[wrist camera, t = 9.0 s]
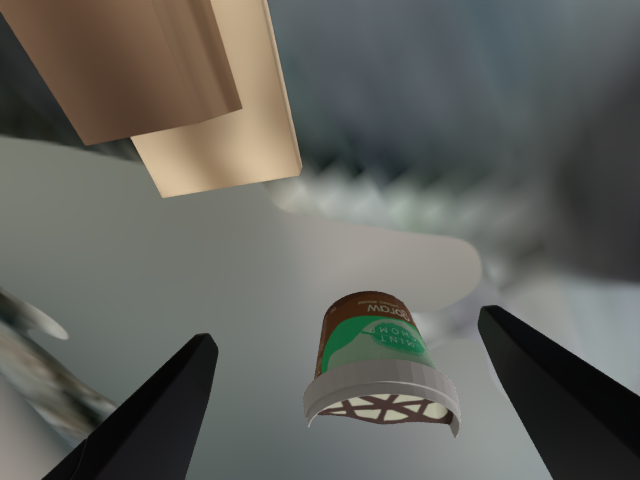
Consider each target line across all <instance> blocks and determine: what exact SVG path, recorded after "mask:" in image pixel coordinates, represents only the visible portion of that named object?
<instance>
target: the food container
mask: <svg viewBox="0 0 640 480" xmlns="http://www.w3.org/2000/svg"><path fill="white" fill-rule="evenodd" d="M303 403H304V413H305V417H307V418H308V427H309V425H310V422H311V421H312V419H313V418H314V417H315V416H316V415H336V416H346V417H351V418H355V419H359V420H363V421H367V422H372V423H377V424H396V423H404V422H429V423H443V424H448V425H449V426H450V428H451V430H452V433H453V435H454V437H455V438H457V436H458V435H459V433H460V429H461V423H460V419H461V414H460V413H461V412H460V407H459V402H458V397H457V392H456V389H455V387H454V384H453V383H452V382H451V381H450V379H449V378H448V377H446V376H445V375H444V374H443V373H441V372H439V371H437V369H436V367H435V365H434V363H433V361H432V359H431V356H430V354H429V352H428V350H427V348H426V346H425V344H424V342H423V340H422V337H421V335H420V333H419V331H418V329H417V327H416V325H415V323H414V321H413V319H412V316H411V314H410V312H409V311H408V309H407V308H406V306H405V305H404V303H403V302H401V301H400V300H398V299H397V298H395V297H394V296H392V295H389V294H386V293H383V292H377V291H364V292H357V293H353V294H350V295H347V296H345V297H343V298H341V299H339V300H338V301H336V302H335V303H334V304H333V305H332V306H330V308H329V309H328V310H327V312H326V314H325V316H324V320H323V326H322V332H321V338H320V345H319V351H318V357H317V365H316V370H315V377H314V380H313V381H312V383H311V384H310V385H309V386H308V387H307V389H306V391H305V392H304V396H303Z"/></svg>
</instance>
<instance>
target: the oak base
mask: <svg viewBox="0 0 640 480" xmlns="http://www.w3.org/2000/svg"><path fill="white" fill-rule="evenodd" d="M210 1H211V4H212V8H213V11H214V14H215V18H216V21H217V24H218V28H219V31H220V34H221V38H222V41H223V44H224V48H225V51H226V54H227V58H228V61H229V64H230V68H231V71H232V74H233V78H234V81H235V84H236V88H237V91H238V94H239V98H240V101H241V104H242V108H243V109H240V110H237V111H234V112H231V113H228V114H225V115H222V116H219V117H216V118H213V119H210V120H207V121H204V122H201V123H197V124H192V125H187V126H182V127H177V128H172V129H167V130H162V131H157V132H153V133H148V134H143V135H138V136H133V137H130V138H131V140H132V141H133V143H134V145H135V147H136V149H137V151H138V153H139V154H140V156H141V158H142V160H143V162H144V164H145V166H146V167H147V169H148V171H149V173H150V175H151V177H152V179H153V181H154V182H155V184H156V186H157V188H158V190H159V192H160V193H161V196H162V197H163V198H165V197H171V196H177V195H183V194H189V193H195V192H201V191H207V190H213V189H219V188H225V187H231V186H237V185H243V184H249V183H255V182H262V181H268V180H274V179H280V178H286V177H292V176H298V175H300V172H301V169H302V163H301V158H300V153H299V149H298V144H297V139H296V135H295V130H294V125H293V121H292V116H291V111H290V106H289V102H288V97H287V92H286V88H285V83H284V78H283V74H282V69H281V64H280V60H279V55H278V50H277V45H276V41H275V36H274V31H273V27H272V22H271V17H270V13H269V8H268V3H267V0H210Z"/></svg>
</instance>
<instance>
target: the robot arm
mask: <svg viewBox="0 0 640 480" xmlns="http://www.w3.org/2000/svg"><path fill="white" fill-rule="evenodd" d="M478 330H479V333H480V335H481V337H482V340H483V342H484V345H485V347H486V349H487V352H488V354H489V357H490V359H491V361H492V364H493V366H494V369H495V371H496V373H497V376H498V378H499V380H500V382H501V384H502V386H503V388H504V390H505V392H506V394H507V395H508V397H509V399H510V401H511V403H512V405H513V406H514V408H515V410H516V412H517V413H518V415H519V417H520V419H521V421H522V423H523V425H524V427H525V428H526V430H527V432H528V434H529V436H530V438H531V440H532V441H533V443H534V445H535V447H536V449H537V450H538V452H539V454H540V456H541V458H542V460H543V462H544V463H545V465H546V467H547V469H548V471H549V472H550V474H551V476H552V478H553V480H640V396H638V395H637V394H635V393H634V392H632V391H630V390H629V389H627V388H626V387H624V386H623V385H621V384H620V383H618V382H616V381H615V380H613V379H612V378H610V377H609V376H607V375H606V374H604V373H602V372H601V371H599V370H598V369H596V368H595V367H593V366H592V365H590V364H588V363H587V362H585V361H584V360H582V359H581V358H579V357H578V356H576V355H574V354H573V353H571V352H570V351H568V350H567V349H565V348H564V347H562V346H560V345H559V344H557V343H556V342H554V341H553V340H551V339H549V338H548V337H546V336H545V335H543V334H542V333H540V332H539V331H537V330H535V329H534V328H532V327H531V326H529V325H528V324H526V323H525V322H523V321H521V320H520V319H518V318H517V317H515V316H514V315H512V314H511V313H509V312H507V311H506V310H504V309H503V308H501V307H500V306H497V305H489V306H483V307H482V308H481V310H480V315H479V320H478ZM217 357H218V347H217V345H216V343H215V342H214V340H213V338H212V337H211V335H210V334H208V333H202V334H196V335H195V336H194V337H193V338H192V339H190V340H189V341H188V342H187V343H186V344H185V345H184V346H183V347H182V348H181V349H180V350H179V351H178V352H177V353H176V354H175V355H174V356H172V358H170V360H168V361H167V362H166V363H165V364H164V365H163V366H162V367H161V368H160V369H159V370H158V371H157V372H156V373H154V374H153V376H151V377H150V378H149V379H148V380H147V381H146V382H145V383H144V384H143V385H142V386H141V387H140V388H139V389H138V390H136V392H134V393H133V394H132V395H131V396H130V397H129V398H128V399H127V400H126V401H125V402H124V403H123V404H122V405H121V406H120V407H118V408H117V409H116V410H115V411H114V412H113V413H112V414H111V415H110V416H109V417H108V418H107V419H106V420H105V421H104V422H103V423H101V424H100V425H99V426H98V427H97V428H96V429H95V430H94V431H93V432H92V433H91V434H90V435H89V436H88V437H87V439H84V440H83V441H82V442H81V443H80V444H79V445H78V446H77V447H76V448H75V449H74V450H73V451H72V452H71V453H70V454H69V455H67V456H66V457H65V458H64V459H63V460H62V461H61V462H60V463H59V464H58V465H57V466H56V467H54V468H53V469H52V470H51V471H50V472H49V473H48V474H47V475H46V476H45V477H43V478H42V479H41V480H185V477H186V473H187V470H188V467H189V463H190V460H191V457H192V453H193V450H194V447H195V444H196V441H197V437H198V434H199V431H200V427H201V424H202V421H203V417H204V414H205V411H206V408H207V404H208V400H209V396H210V392H211V387H212V382H213V377H214V372H215V367H216V363H217Z"/></svg>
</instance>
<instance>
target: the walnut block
mask: <svg viewBox="0 0 640 480" xmlns="http://www.w3.org/2000/svg"><path fill="white" fill-rule="evenodd" d="M0 12H1V13H2V15H3V16H4V18H5V19H6V21H7V23H8V24H9V26H10V27H11V29H12V31H13V32H14V34H15V35H16V37H17V38H18V40H19V42H20V43H21V45H22V46H23V48H24V49H25V51H26V53H27V54H28V56H29V57H30V59H31V61H32V62H33V64H34V65H35V67H36V68H37V70H38V72H39V73H40V75H41V76H42V78H43V79H44V81H45V83H46V84H47V86H48V87H49V89H50V91H51V92H52V94H53V95H54V97H55V98H56V100H57V102H58V103H59V105H60V106H61V108H62V109H63V111H64V113H65V114H66V116H67V117H68V119H69V121H70V122H71V124H72V125H73V127H74V128H75V130H76V132H77V133H78V135H79V136H80V138H81V139H82V141H83V143H84V144H85V146H88V145H93V144H98V143H103V142H108V141H113V140H118V139H123V138H128V137H133V136H138V135H143V134H148V133H153V132H157V131H162V130H167V129H172V128H177V127H182V126H187V125H192V124H197V123H201V122H204V121H207V120H210V119H213V118H216V117H219V116H222V115H225V114H228V113H231V112H234V111H237V110H240V109H243V108H242V104H241V101H240V98H239V94H238V91H237V88H236V84H235V81H234V78H233V74H232V71H231V68H230V64H229V61H228V58H227V54H226V51H225V48H224V44H223V41H222V38H221V34H220V31H219V28H218V24H217V21H216V18H215V14H214V11H213V8H212V4H211V1H210V0H0Z"/></svg>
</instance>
